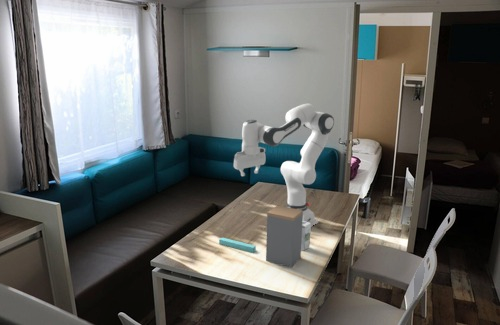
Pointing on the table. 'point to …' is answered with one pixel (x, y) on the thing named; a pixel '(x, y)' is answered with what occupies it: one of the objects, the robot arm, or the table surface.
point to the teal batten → (237, 244)
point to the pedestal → (284, 235)
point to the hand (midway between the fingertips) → (249, 174)
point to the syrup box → (305, 235)
